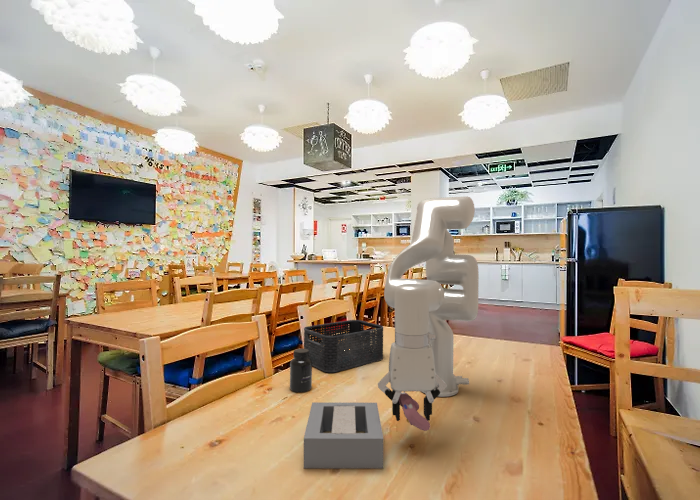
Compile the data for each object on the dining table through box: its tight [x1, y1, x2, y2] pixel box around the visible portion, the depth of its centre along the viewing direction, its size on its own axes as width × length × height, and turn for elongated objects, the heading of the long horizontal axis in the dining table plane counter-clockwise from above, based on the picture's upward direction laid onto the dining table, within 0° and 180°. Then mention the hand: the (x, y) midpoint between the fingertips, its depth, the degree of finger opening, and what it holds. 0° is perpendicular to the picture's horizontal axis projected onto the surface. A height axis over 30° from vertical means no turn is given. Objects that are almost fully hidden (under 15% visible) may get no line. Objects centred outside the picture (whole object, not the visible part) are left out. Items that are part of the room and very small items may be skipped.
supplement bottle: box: [289, 348, 313, 393], centre depth 107 cm, size 7×7×12 cm
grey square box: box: [303, 401, 384, 469], centre depth 77 cm, size 16×16×6 cm
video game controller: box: [398, 391, 431, 432], centre depth 78 cm, size 10×5×7 cm, turn 5°
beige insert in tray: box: [331, 406, 357, 434], centre depth 77 cm, size 5×13×2 cm, turn 0°
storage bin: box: [303, 319, 384, 373], centre depth 135 cm, size 29×19×13 cm
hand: (412, 417), depth 77 cm, fingers closed on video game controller, 6 cm apart
